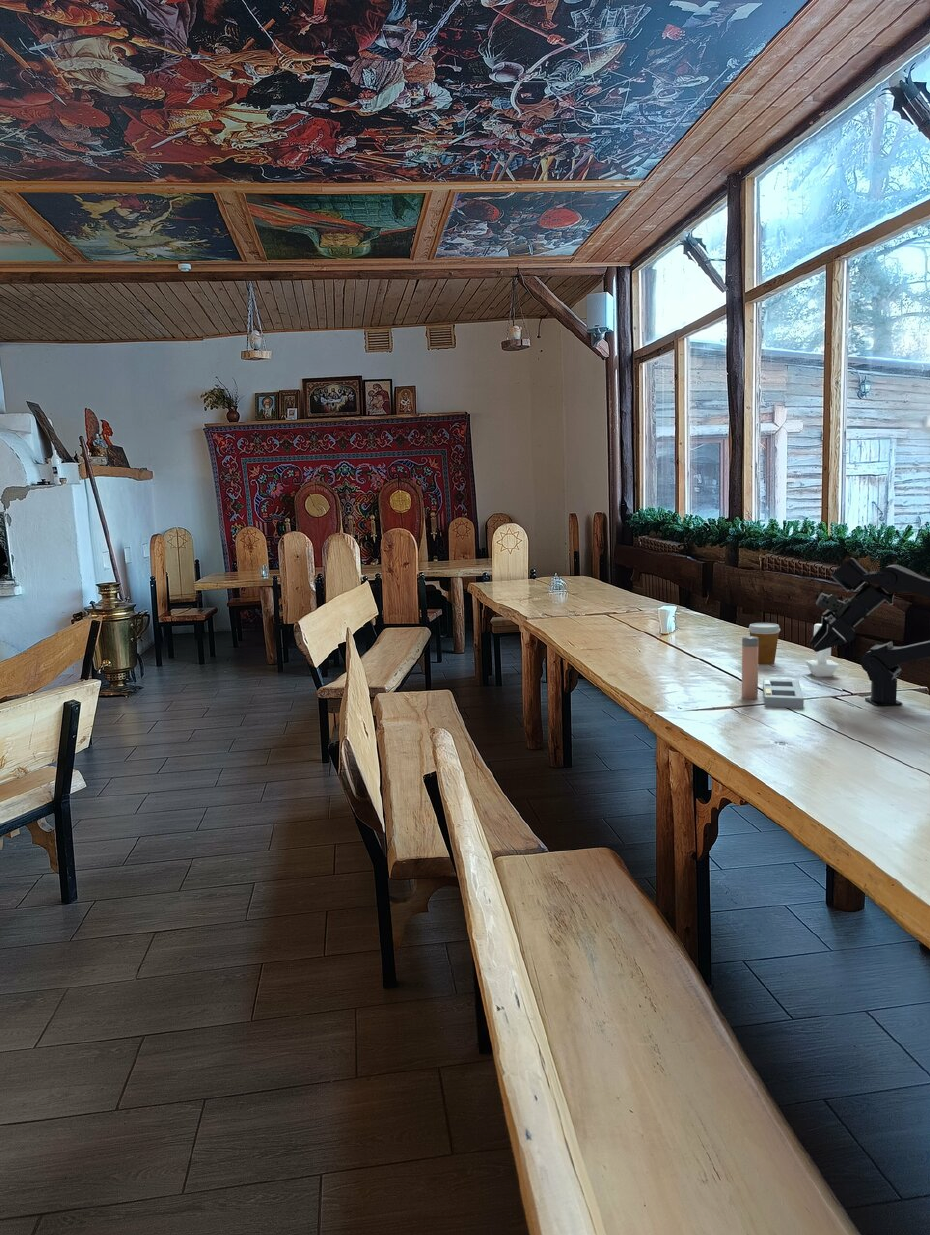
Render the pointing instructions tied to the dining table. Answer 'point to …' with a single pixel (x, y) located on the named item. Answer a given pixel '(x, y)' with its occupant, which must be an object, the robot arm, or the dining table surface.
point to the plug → (750, 667)
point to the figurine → (822, 661)
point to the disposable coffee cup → (765, 641)
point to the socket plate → (782, 693)
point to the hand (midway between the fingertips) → (812, 647)
